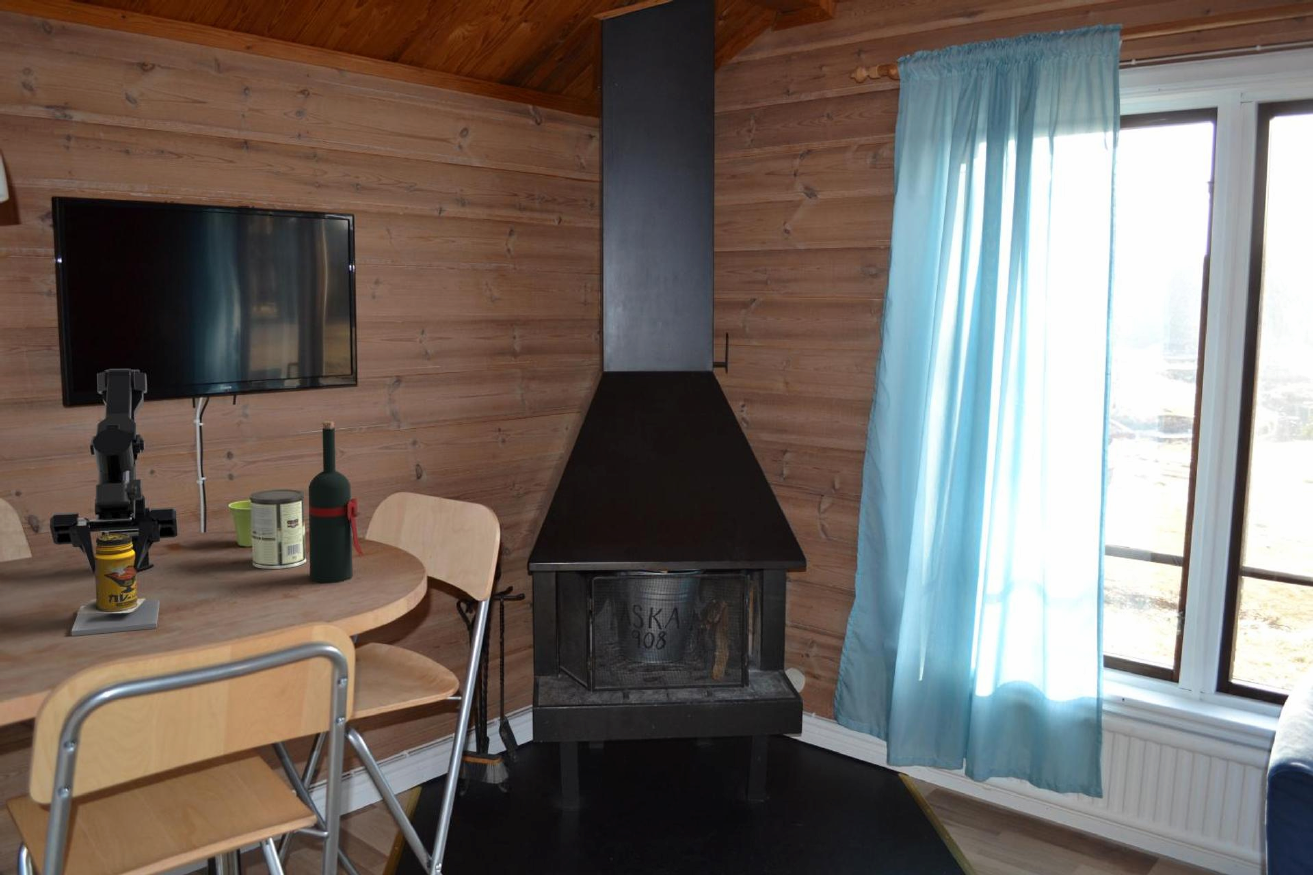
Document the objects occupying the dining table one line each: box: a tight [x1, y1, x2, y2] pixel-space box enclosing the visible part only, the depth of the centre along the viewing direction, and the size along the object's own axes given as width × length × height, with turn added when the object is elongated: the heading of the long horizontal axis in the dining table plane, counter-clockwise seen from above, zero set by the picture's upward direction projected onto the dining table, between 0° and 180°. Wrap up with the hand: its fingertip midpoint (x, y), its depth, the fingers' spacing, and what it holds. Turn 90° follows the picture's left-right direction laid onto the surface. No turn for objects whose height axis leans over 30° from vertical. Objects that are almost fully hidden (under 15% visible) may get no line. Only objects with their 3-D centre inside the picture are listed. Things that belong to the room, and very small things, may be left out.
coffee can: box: [249, 488, 307, 570], centre depth 210 cm, size 10×10×14 cm
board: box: [71, 599, 160, 637], centre depth 174 cm, size 14×12×1 cm
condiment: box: [76, 533, 146, 614], centre depth 173 cm, size 7×8×12 cm
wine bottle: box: [308, 420, 365, 584], centre depth 199 cm, size 8×10×30 cm
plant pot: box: [227, 500, 252, 548], centre depth 225 cm, size 9×9×9 cm
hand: (114, 569), depth 172 cm, fingers closed on condiment, 6 cm apart
